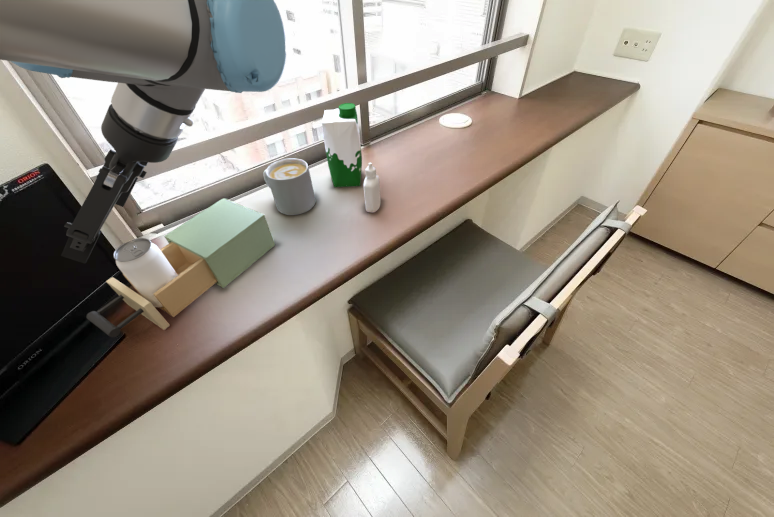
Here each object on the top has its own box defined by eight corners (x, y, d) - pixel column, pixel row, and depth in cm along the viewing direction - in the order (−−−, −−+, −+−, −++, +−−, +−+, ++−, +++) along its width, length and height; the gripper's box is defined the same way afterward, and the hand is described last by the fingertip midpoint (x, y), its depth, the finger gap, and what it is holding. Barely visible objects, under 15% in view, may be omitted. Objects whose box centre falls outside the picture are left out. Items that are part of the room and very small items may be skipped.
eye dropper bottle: (359, 207, 85) (354, 164, 76) (375, 198, 88) (372, 155, 79) (371, 215, 83) (367, 171, 74) (387, 205, 85) (385, 161, 77)
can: (173, 277, 67) (140, 231, 59) (193, 290, 65) (162, 243, 56) (142, 300, 63) (102, 254, 55) (162, 314, 61) (123, 268, 52)
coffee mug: (323, 201, 88) (316, 166, 80) (293, 220, 82) (283, 184, 75) (291, 183, 94) (281, 150, 87) (261, 200, 89) (248, 166, 82)
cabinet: (223, 288, 67) (205, 258, 61) (183, 266, 72) (163, 236, 66) (275, 244, 76) (264, 214, 70) (237, 227, 81) (223, 197, 75)
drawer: (132, 356, 56) (107, 333, 52) (96, 327, 61) (70, 304, 56) (225, 280, 68) (211, 256, 63) (189, 260, 72) (173, 236, 67)
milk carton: (363, 188, 91) (356, 113, 77) (330, 189, 91) (316, 114, 77) (364, 171, 97) (357, 98, 83) (332, 172, 97) (320, 100, 83)
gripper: (146, 190, 36) (88, 298, 45) (200, 103, 54) (150, 194, 63) (57, 148, 32) (12, 277, 41) (147, 69, 49) (102, 172, 59)
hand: (96, 227), depth 52 cm, fingers open, 13 cm apart
